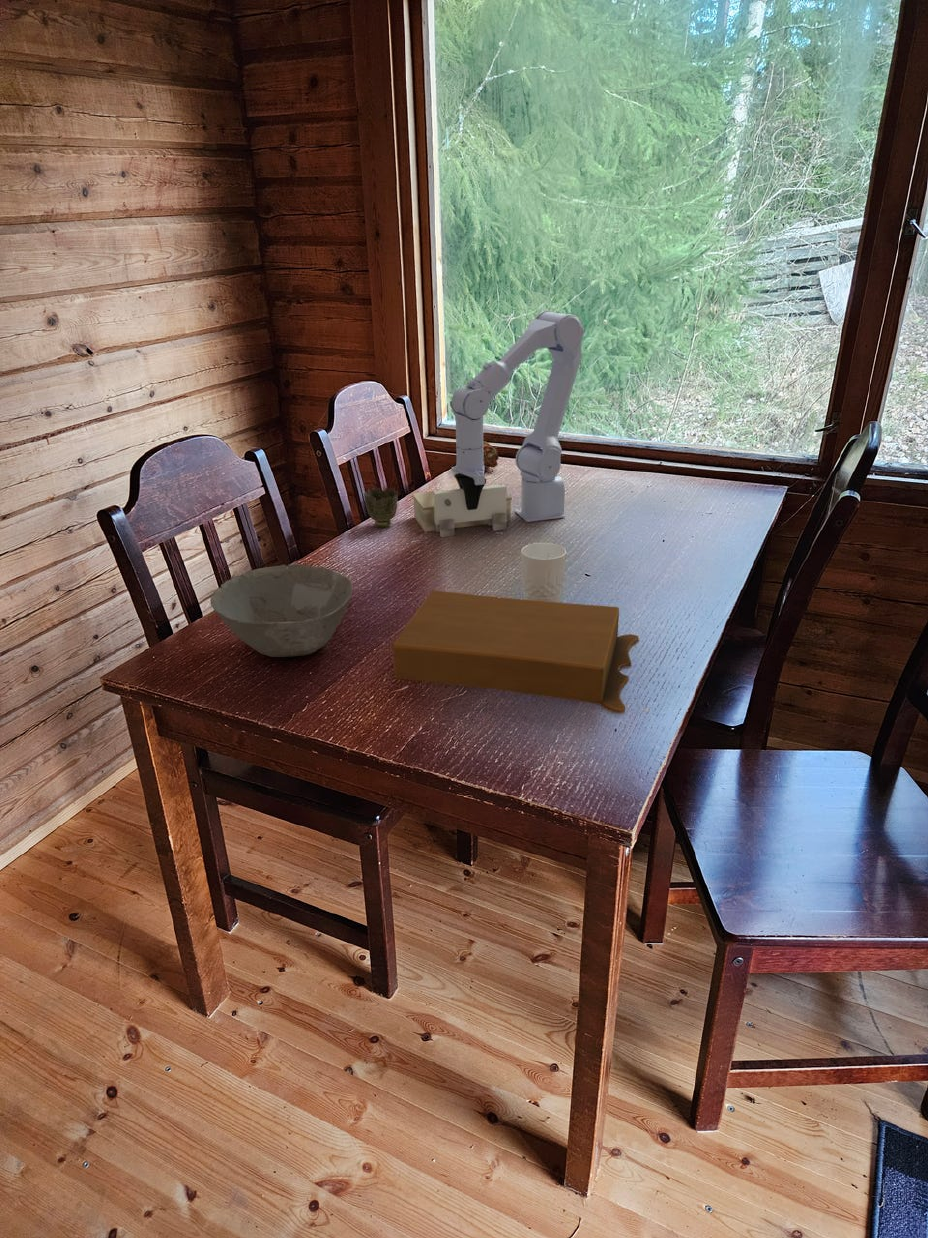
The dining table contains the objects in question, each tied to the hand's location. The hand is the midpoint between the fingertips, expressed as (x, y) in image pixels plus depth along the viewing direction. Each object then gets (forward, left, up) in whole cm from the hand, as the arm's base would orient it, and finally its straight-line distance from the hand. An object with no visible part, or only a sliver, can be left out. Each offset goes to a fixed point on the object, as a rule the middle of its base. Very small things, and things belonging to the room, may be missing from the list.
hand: (470, 507), depth 182 cm
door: (0, 0, -3) cm, 3 cm away
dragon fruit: (-15, -43, -5) cm, 46 cm away
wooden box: (+9, +58, -6) cm, 59 cm away
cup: (+18, -9, -5) cm, 21 cm away
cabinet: (0, -5, -5) cm, 7 cm away
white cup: (-1, +40, -5) cm, 40 cm away
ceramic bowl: (+44, +42, -5) cm, 61 cm away
